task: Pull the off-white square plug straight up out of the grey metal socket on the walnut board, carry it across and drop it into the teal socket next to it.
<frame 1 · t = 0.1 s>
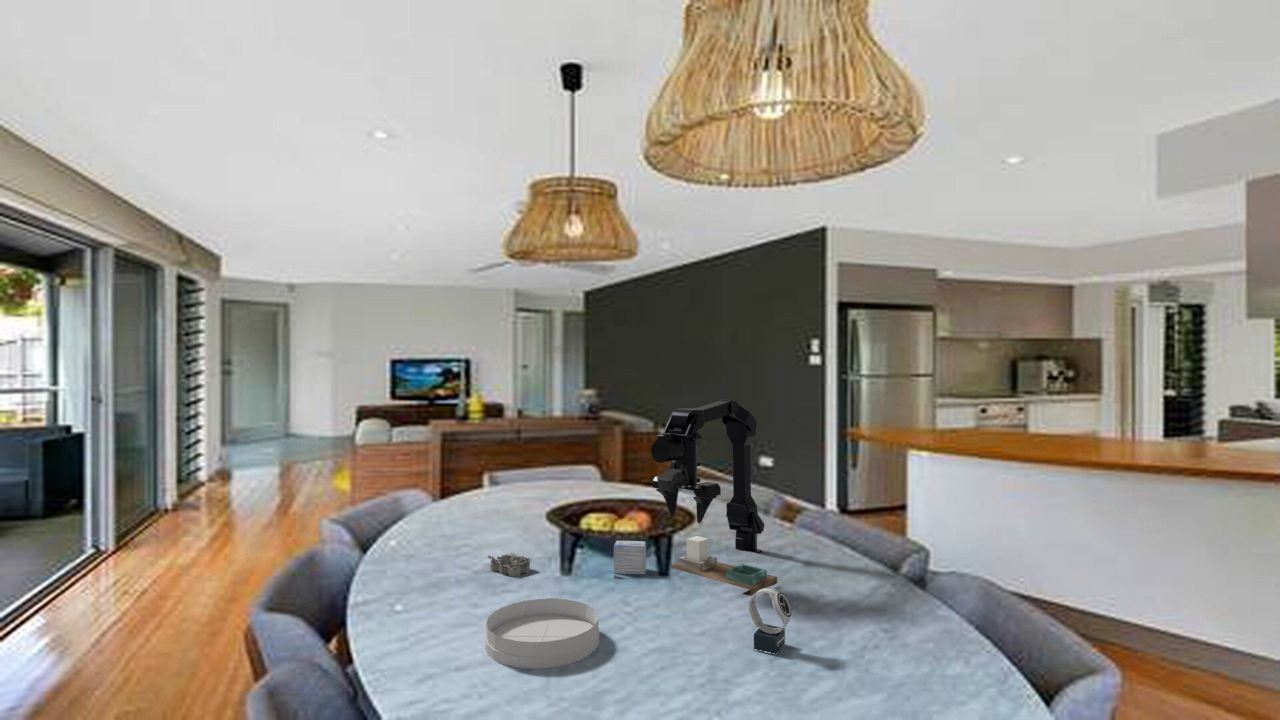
hand: (685, 519, 171), 14 cm above the table, tool pointing down, fingers open, 9 cm apart
plug: (697, 565, 175), point 1 cm above the table, touching socket board
watch: (770, 648, 129), on the table
medicine box: (630, 577, 170), on the table
dish: (543, 645, 131), on the table
toy castle: (510, 571, 176), on the table
socket board: (721, 577, 170), on the table
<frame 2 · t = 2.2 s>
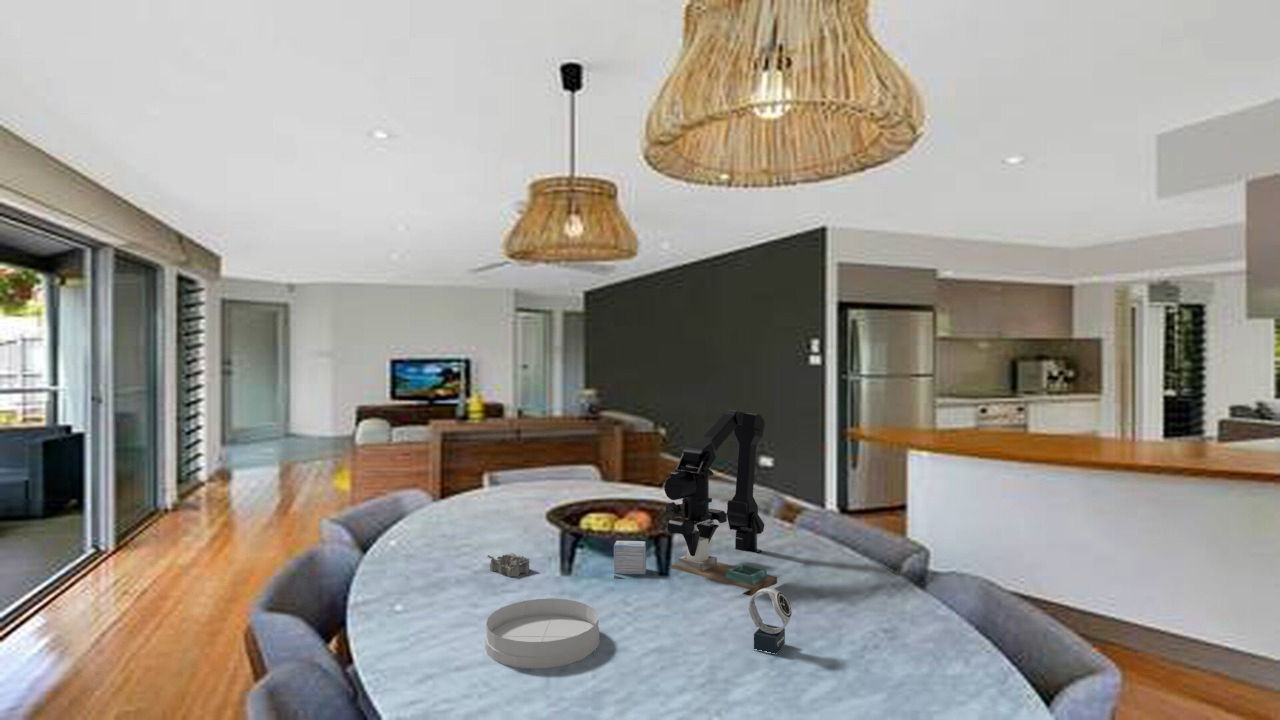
hand: (697, 554, 175), 5 cm above the table, tool pointing down, fingers closed on plug, 4 cm apart
plug: (697, 565, 175), point 1 cm above the table, touching gripper, socket board
everything else where it was.
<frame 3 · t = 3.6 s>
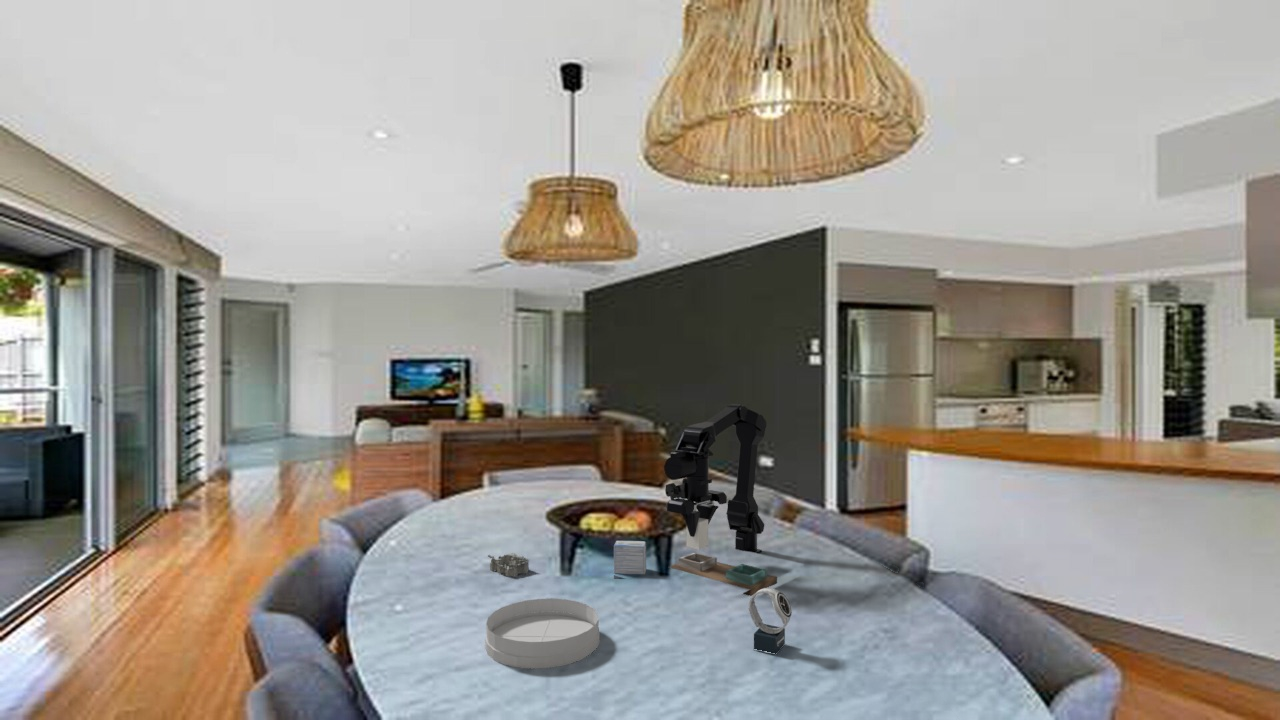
hand: (697, 534, 175), 10 cm above the table, tool pointing down, fingers closed on plug, 4 cm apart
plug: (697, 546, 175), point 7 cm above the table, touching gripper
everything else where it was.
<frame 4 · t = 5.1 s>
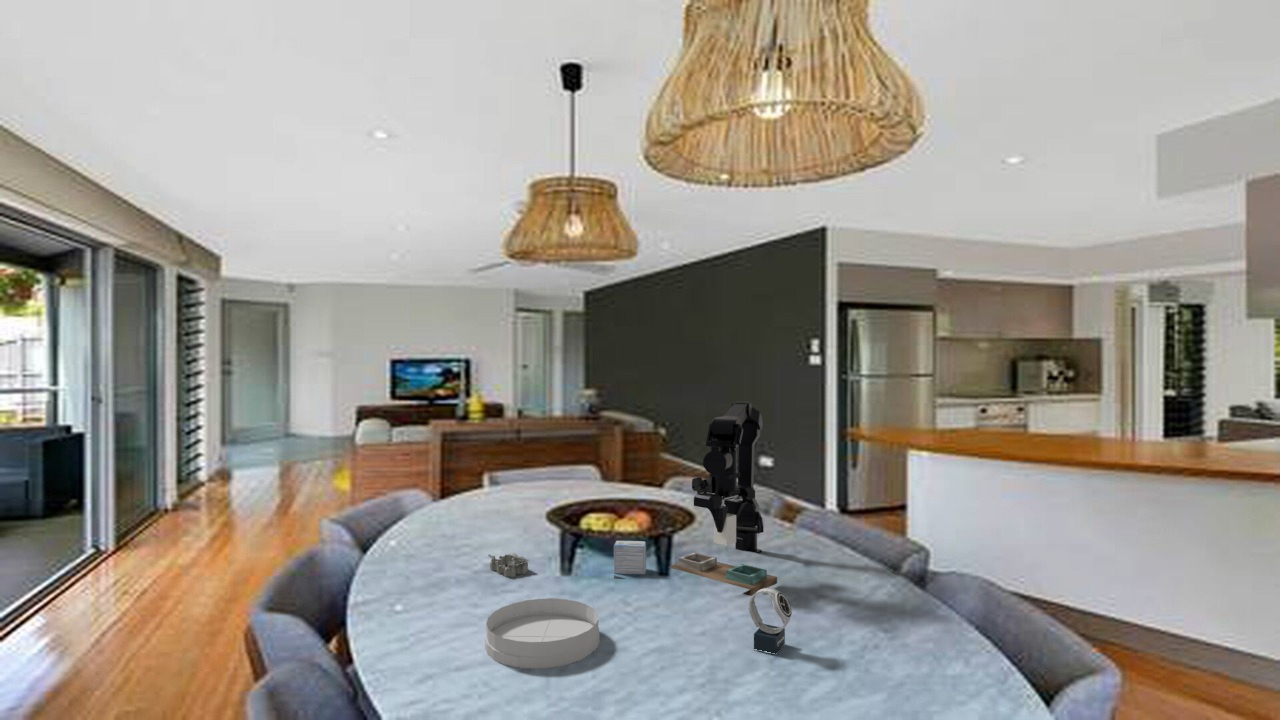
hand: (725, 530, 169), 12 cm above the table, tool pointing down, fingers closed on plug, 4 cm apart
plug: (724, 542, 169), point 9 cm above the table, touching gripper
everything else where it was.
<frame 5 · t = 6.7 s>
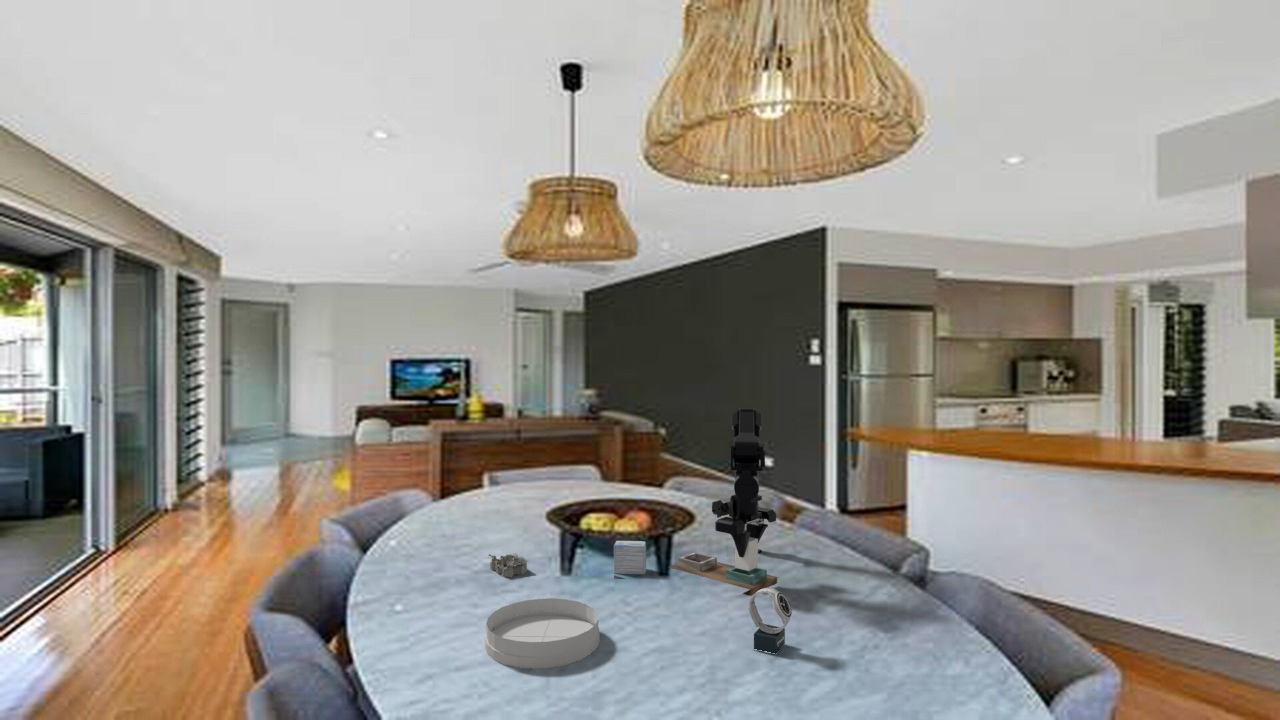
hand: (746, 555, 165), 7 cm above the table, tool pointing down, fingers closed on plug, 4 cm apart
plug: (746, 567, 165), point 4 cm above the table, touching gripper
when the fingers open (5 cm above the table, at t = 7.8 s): plug stays where it is, resting on socket board.
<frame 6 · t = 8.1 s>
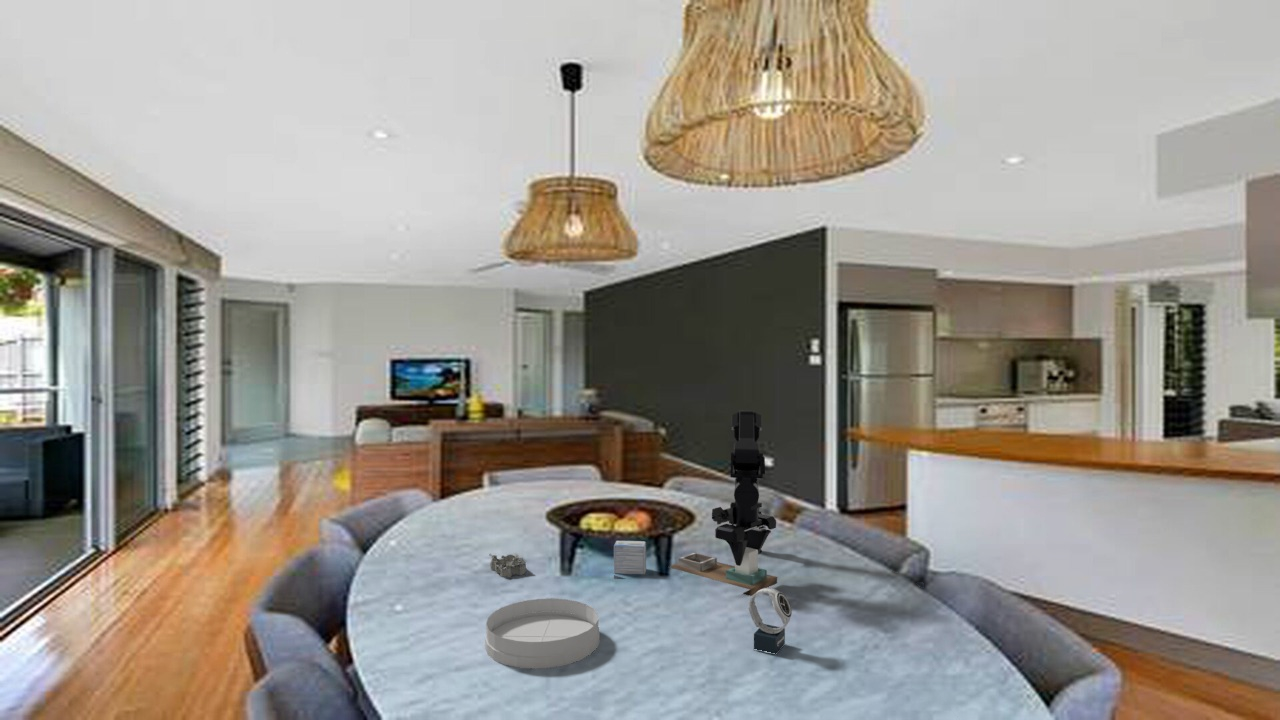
hand: (746, 562, 165), 5 cm above the table, tool pointing down, fingers open, 7 cm apart
plug: (746, 578, 165), point 1 cm above the table, touching socket board
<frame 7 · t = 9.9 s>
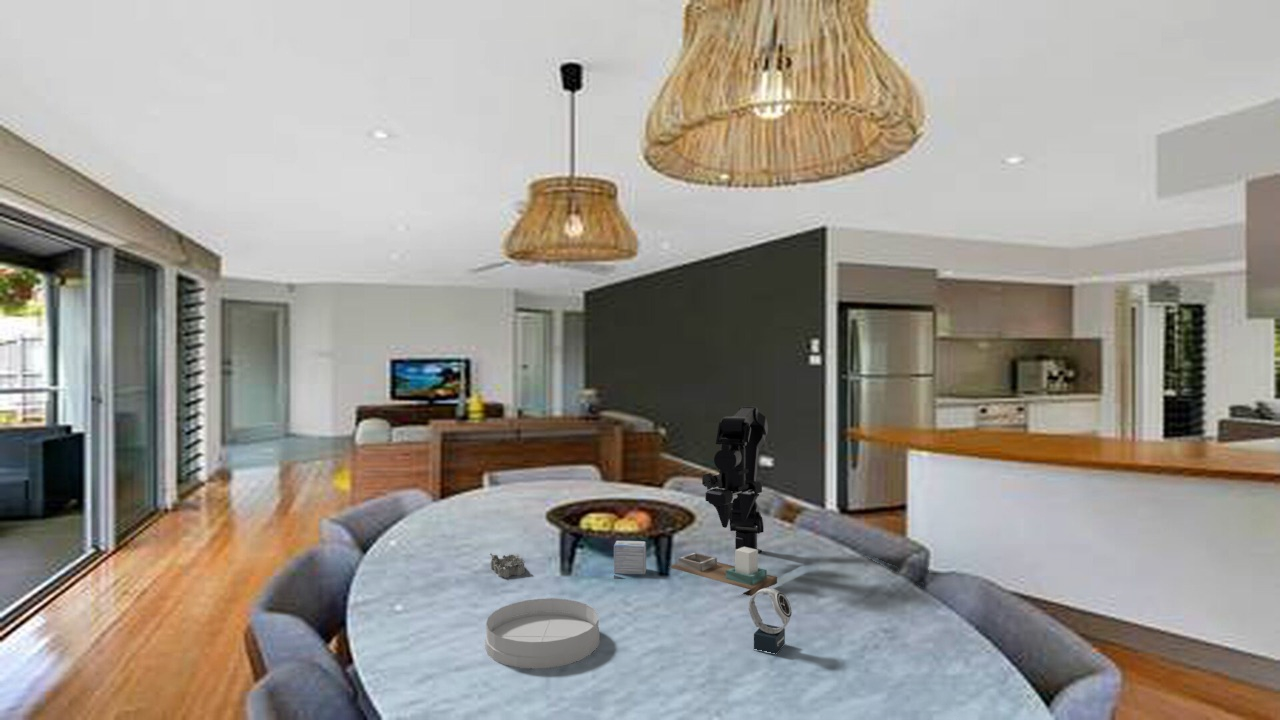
hand: (734, 523, 177), 12 cm above the table, tool pointing down, fingers open, 9 cm apart
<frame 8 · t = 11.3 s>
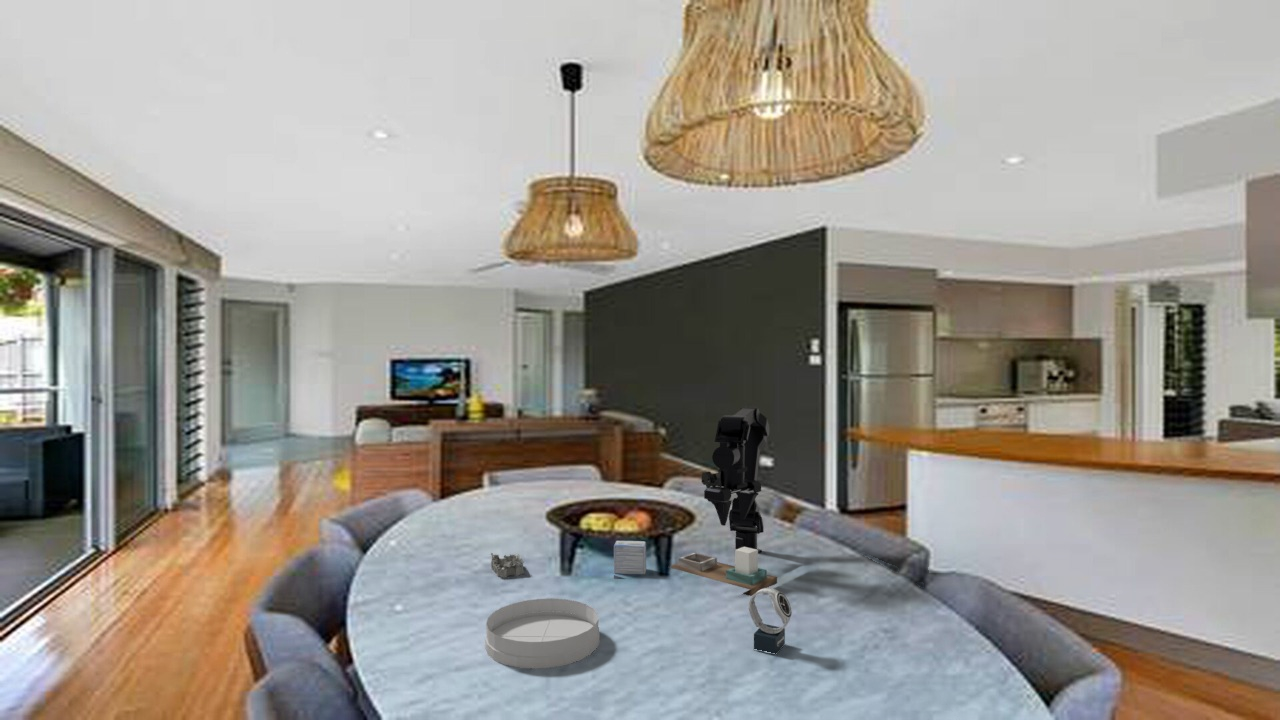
hand: (733, 522, 178), 12 cm above the table, tool pointing down, fingers open, 9 cm apart
at the end: plug 0.1 cm from the target spot on the socket board, point 1.5 cm above the socket board's base; plug tilted 0°; the gripper is holding nothing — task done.
